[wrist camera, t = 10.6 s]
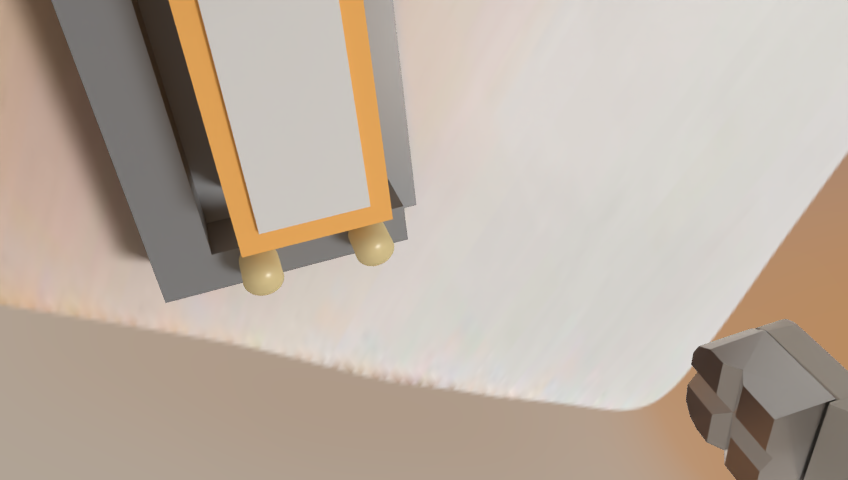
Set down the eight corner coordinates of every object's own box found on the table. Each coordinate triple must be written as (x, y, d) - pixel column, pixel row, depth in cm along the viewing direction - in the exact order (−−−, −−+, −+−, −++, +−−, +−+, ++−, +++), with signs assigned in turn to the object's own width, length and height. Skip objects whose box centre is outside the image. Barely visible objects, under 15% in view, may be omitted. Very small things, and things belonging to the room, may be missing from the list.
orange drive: (144, -107, 22) (148, -71, 18) (314, -134, 23) (350, -104, 19) (226, 188, 28) (242, 260, 24) (360, 157, 29) (394, 221, 25)
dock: (-9, -204, 20) (-31, -190, 17) (361, -252, 22) (396, -246, 19) (162, 264, 29) (167, 324, 26) (414, 201, 31) (443, 250, 28)
